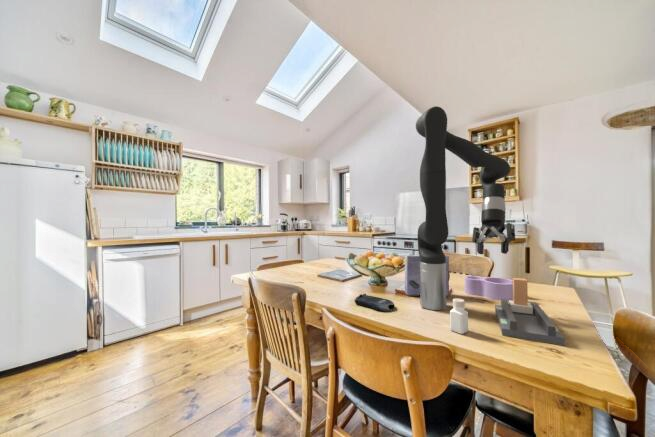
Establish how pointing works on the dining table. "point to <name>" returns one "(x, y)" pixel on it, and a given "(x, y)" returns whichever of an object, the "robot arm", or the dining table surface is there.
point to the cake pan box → (418, 275)
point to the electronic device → (374, 302)
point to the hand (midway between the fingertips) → (491, 253)
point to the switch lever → (520, 297)
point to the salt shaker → (458, 317)
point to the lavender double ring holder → (489, 287)
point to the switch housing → (528, 324)
